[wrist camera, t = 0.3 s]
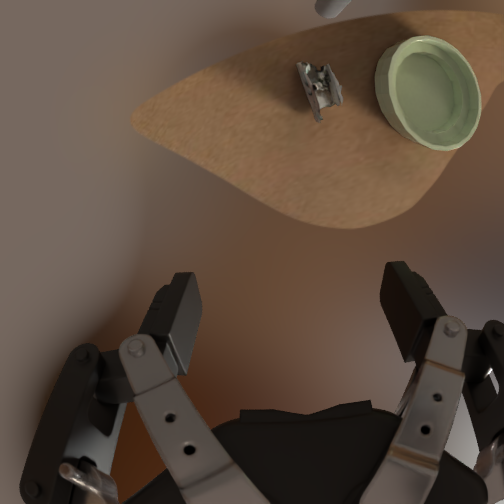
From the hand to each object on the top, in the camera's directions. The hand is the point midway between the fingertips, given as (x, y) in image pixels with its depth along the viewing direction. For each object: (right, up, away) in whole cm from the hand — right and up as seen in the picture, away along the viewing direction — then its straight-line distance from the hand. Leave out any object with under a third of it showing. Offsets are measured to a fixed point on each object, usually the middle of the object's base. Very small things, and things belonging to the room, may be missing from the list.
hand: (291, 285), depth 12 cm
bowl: (+21, +23, +17) cm, 36 cm away
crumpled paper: (+7, +22, +19) cm, 29 cm away
